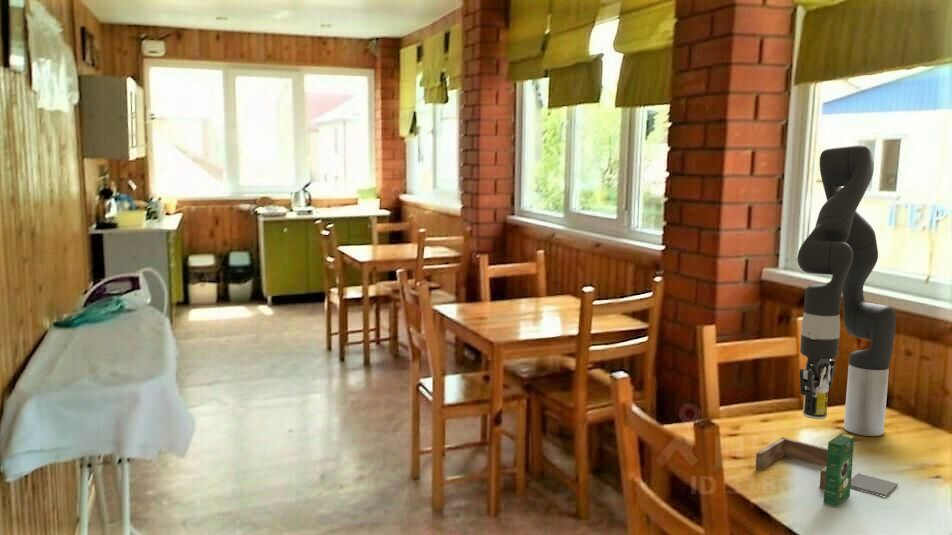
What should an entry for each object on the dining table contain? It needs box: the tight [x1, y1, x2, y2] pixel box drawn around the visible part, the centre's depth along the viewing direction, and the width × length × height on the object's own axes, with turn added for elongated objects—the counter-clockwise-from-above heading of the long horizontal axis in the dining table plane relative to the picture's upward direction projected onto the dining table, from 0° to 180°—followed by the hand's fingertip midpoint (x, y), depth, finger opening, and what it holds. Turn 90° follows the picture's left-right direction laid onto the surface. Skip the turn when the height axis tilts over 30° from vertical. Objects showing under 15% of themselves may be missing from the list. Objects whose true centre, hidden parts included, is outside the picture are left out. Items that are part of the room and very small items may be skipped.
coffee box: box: [823, 433, 855, 508], centre depth 158 cm, size 8×3×13 cm, turn 136°
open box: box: [755, 436, 828, 491], centre depth 173 cm, size 14×15×4 cm
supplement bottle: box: [802, 379, 829, 420], centre depth 168 cm, size 5×5×8 cm
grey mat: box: [850, 472, 899, 498], centre depth 165 cm, size 8×8×1 cm
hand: (815, 410), depth 168 cm, fingers closed on supplement bottle, 4 cm apart
